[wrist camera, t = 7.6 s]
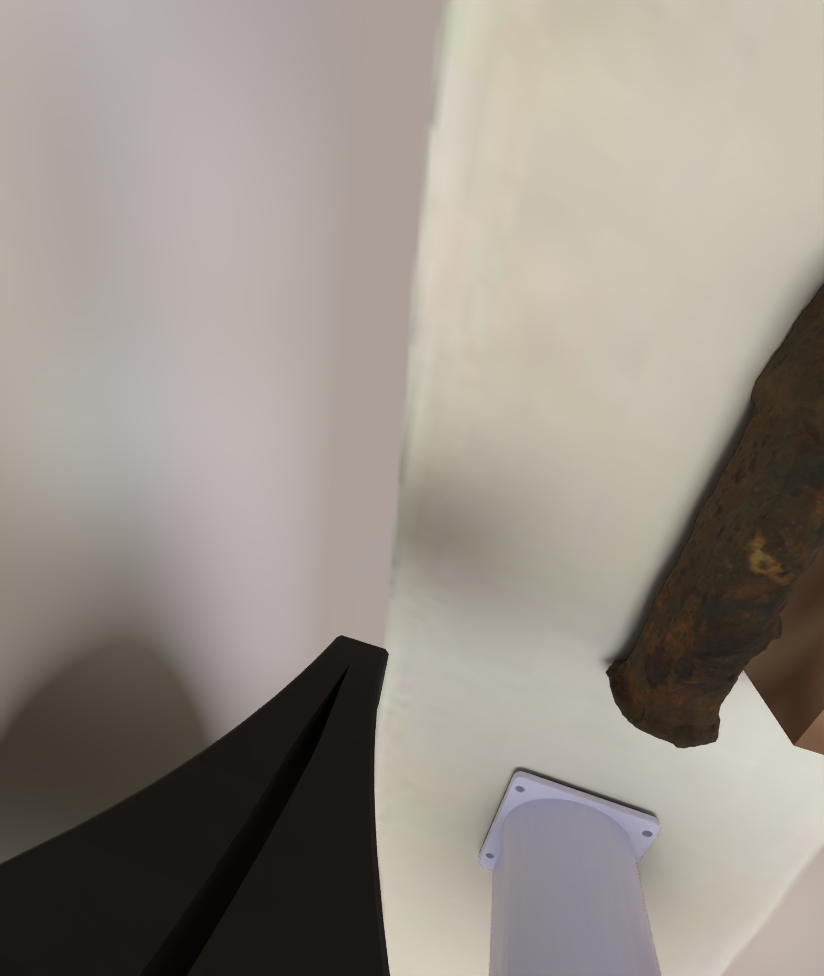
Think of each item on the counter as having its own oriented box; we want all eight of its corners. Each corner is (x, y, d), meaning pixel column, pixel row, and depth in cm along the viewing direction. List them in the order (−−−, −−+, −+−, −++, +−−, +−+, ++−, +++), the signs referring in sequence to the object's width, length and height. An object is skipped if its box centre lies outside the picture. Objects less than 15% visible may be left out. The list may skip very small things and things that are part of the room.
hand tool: (683, 688, 20) (730, 786, 16) (599, 661, 20) (622, 749, 16) (972, 241, 12) (1214, 197, 8) (826, 217, 13) (983, 163, 9)
